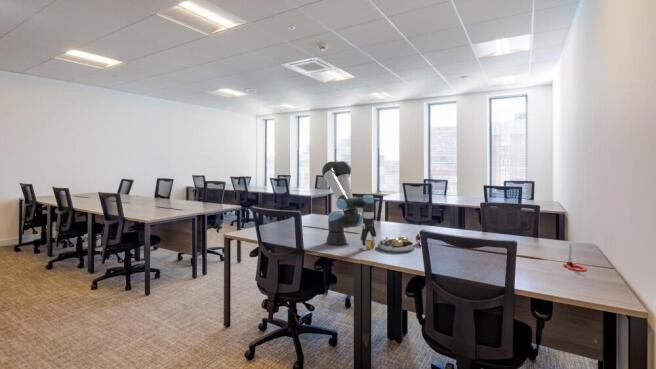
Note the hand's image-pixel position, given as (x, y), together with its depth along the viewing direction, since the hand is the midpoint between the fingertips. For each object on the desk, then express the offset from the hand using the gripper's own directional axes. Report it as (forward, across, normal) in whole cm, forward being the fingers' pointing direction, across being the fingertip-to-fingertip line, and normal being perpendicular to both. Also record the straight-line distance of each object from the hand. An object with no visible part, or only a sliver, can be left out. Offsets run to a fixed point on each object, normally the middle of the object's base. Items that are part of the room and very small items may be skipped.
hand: (368, 247), depth 227 cm
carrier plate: (0, +8, -17) cm, 19 cm away
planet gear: (0, 0, 0) cm, 0 cm away
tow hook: (+1, +14, -117) cm, 117 cm away
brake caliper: (0, +27, -31) cm, 41 cm away
